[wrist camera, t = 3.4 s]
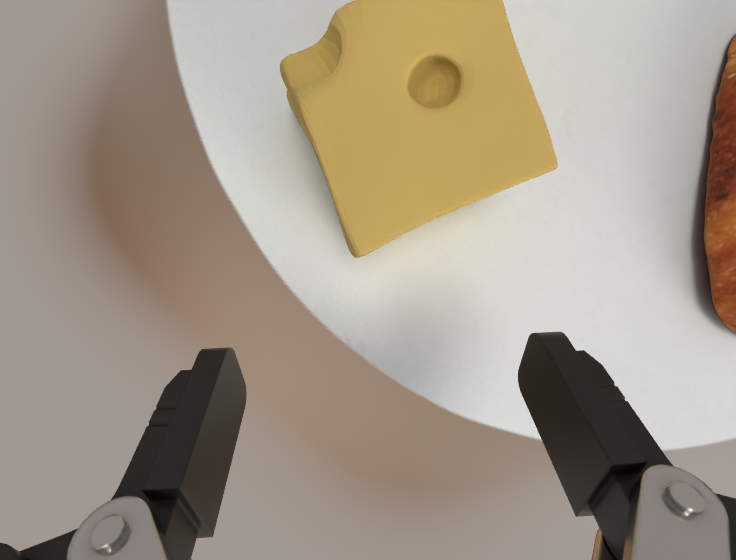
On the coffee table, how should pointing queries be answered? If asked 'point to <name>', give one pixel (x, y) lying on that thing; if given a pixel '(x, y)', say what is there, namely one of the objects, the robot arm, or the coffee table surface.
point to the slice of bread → (723, 198)
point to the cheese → (416, 112)
